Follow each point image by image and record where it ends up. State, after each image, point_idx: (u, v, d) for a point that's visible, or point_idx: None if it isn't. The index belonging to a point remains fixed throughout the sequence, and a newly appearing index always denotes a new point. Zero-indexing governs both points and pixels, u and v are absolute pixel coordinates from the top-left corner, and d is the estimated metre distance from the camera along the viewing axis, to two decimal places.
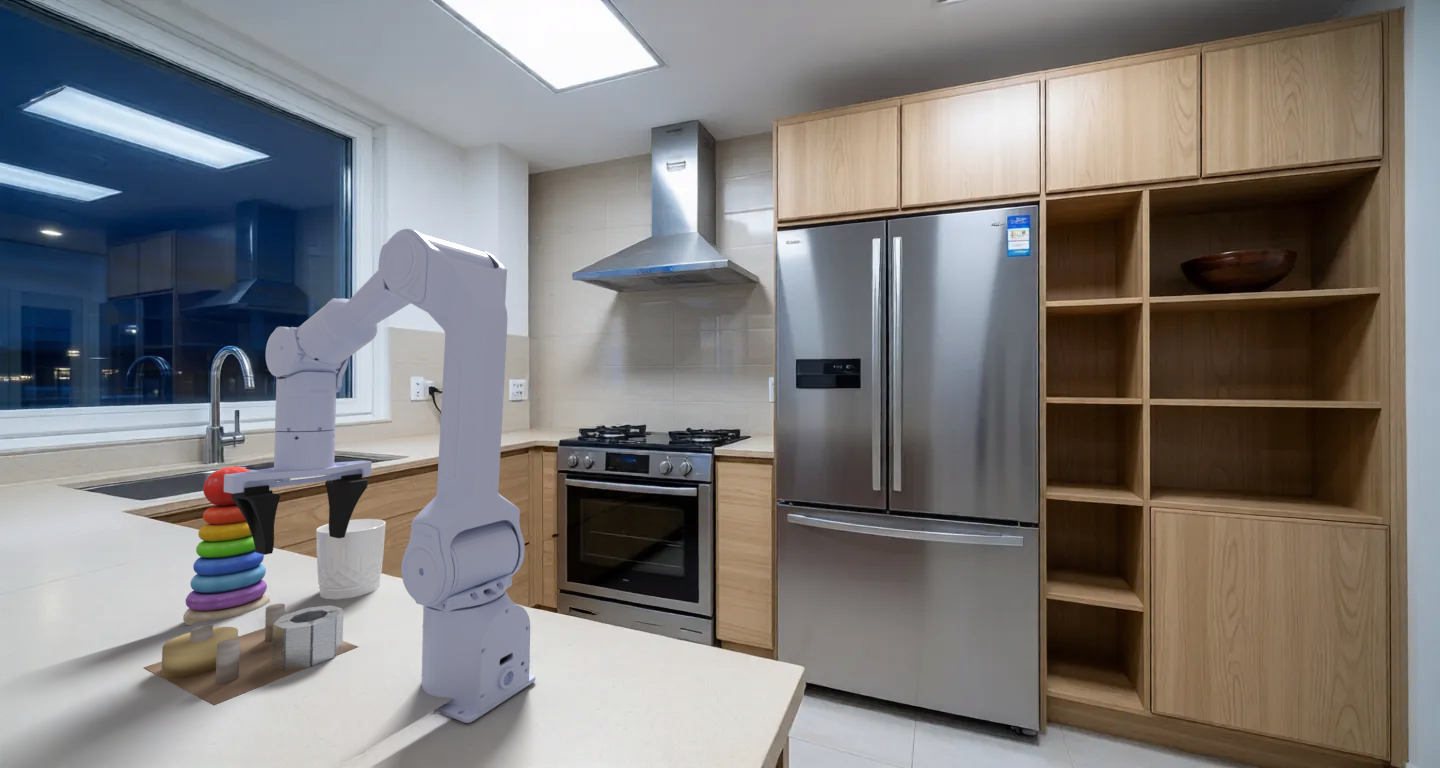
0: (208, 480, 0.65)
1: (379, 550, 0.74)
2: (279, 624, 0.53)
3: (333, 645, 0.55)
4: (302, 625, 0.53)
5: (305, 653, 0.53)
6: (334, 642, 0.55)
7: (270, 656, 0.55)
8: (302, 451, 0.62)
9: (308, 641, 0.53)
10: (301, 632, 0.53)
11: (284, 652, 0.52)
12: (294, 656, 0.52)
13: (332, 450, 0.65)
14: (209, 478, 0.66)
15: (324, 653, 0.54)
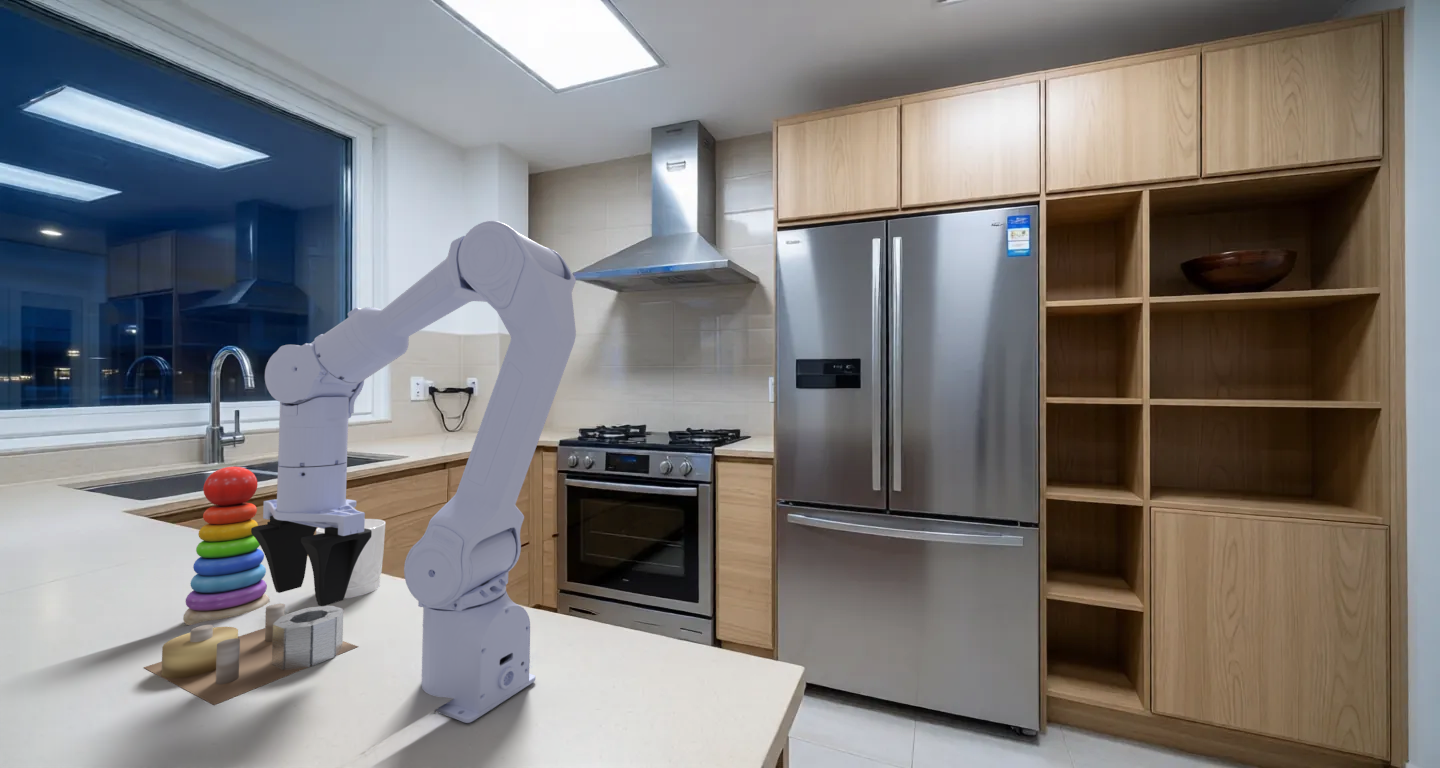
0: (208, 480, 0.65)
1: (379, 550, 0.74)
2: (279, 624, 0.53)
3: (333, 645, 0.55)
4: (302, 625, 0.53)
5: (305, 653, 0.53)
6: (334, 642, 0.55)
7: (270, 656, 0.55)
8: None
9: (308, 641, 0.53)
10: (301, 632, 0.53)
11: (284, 652, 0.52)
12: (294, 656, 0.52)
13: (298, 492, 0.53)
14: (209, 478, 0.66)
15: (324, 653, 0.54)
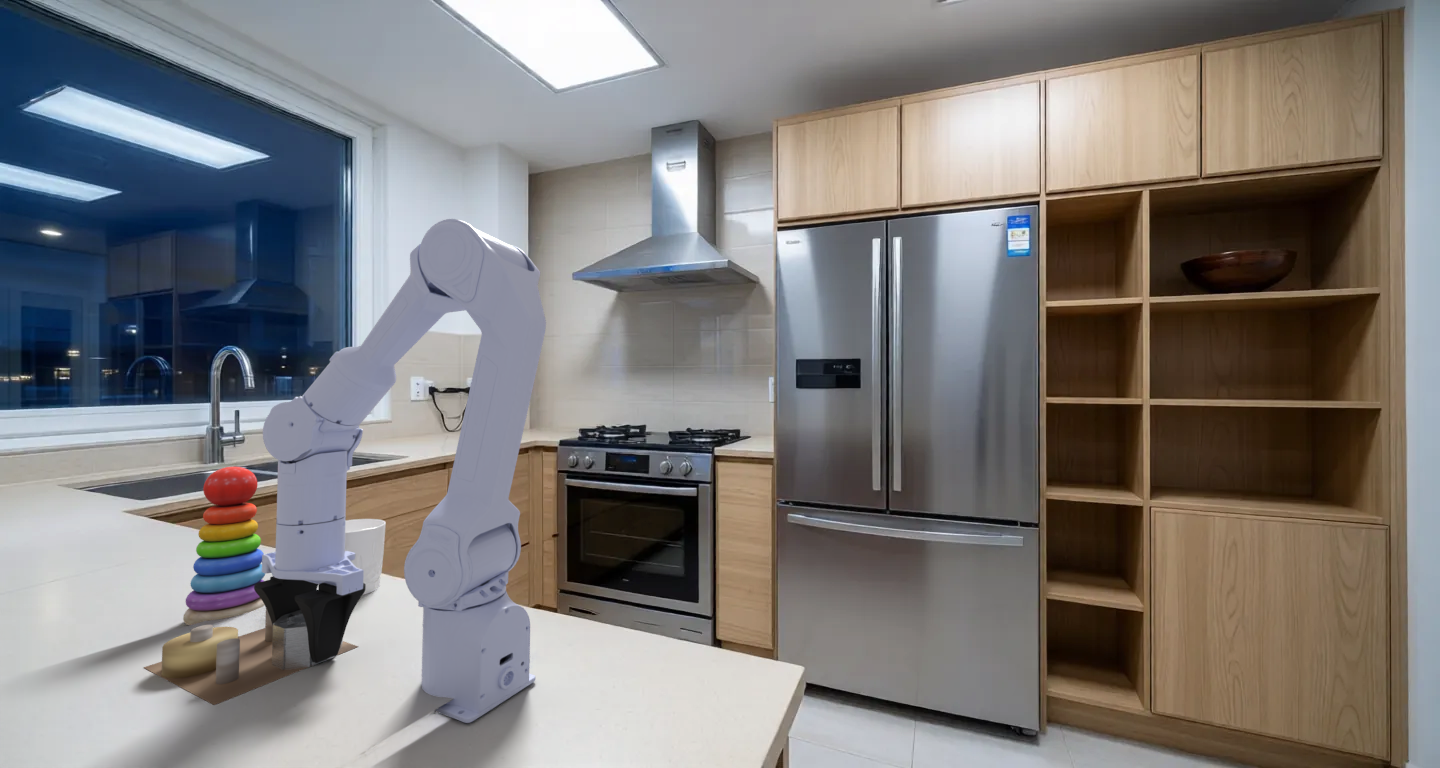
0: (208, 480, 0.65)
1: (379, 550, 0.74)
2: (279, 624, 0.53)
3: None
4: (302, 625, 0.53)
5: (305, 653, 0.53)
6: None
7: (270, 656, 0.55)
8: None
9: None
10: (301, 632, 0.53)
11: (284, 652, 0.52)
12: (294, 656, 0.52)
13: (297, 550, 0.52)
14: (209, 478, 0.66)
15: None
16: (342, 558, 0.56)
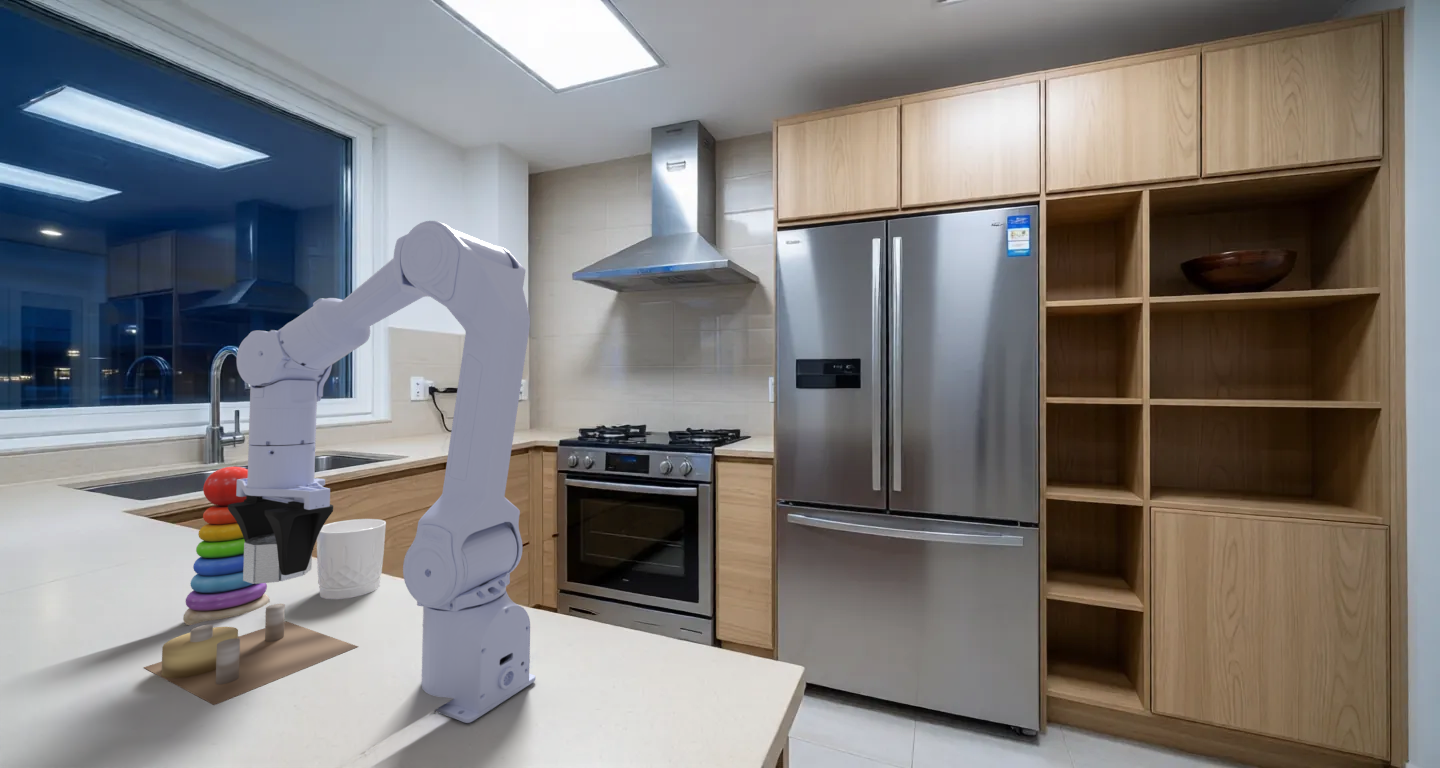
0: (208, 480, 0.65)
1: (379, 550, 0.74)
2: (250, 542, 0.56)
3: None
4: (272, 543, 0.56)
5: (275, 569, 0.56)
6: None
7: (270, 656, 0.55)
8: None
9: (277, 558, 0.56)
10: (270, 549, 0.56)
11: (254, 567, 0.56)
12: (264, 571, 0.56)
13: (267, 469, 0.56)
14: (209, 478, 0.66)
15: None
16: (311, 481, 0.59)
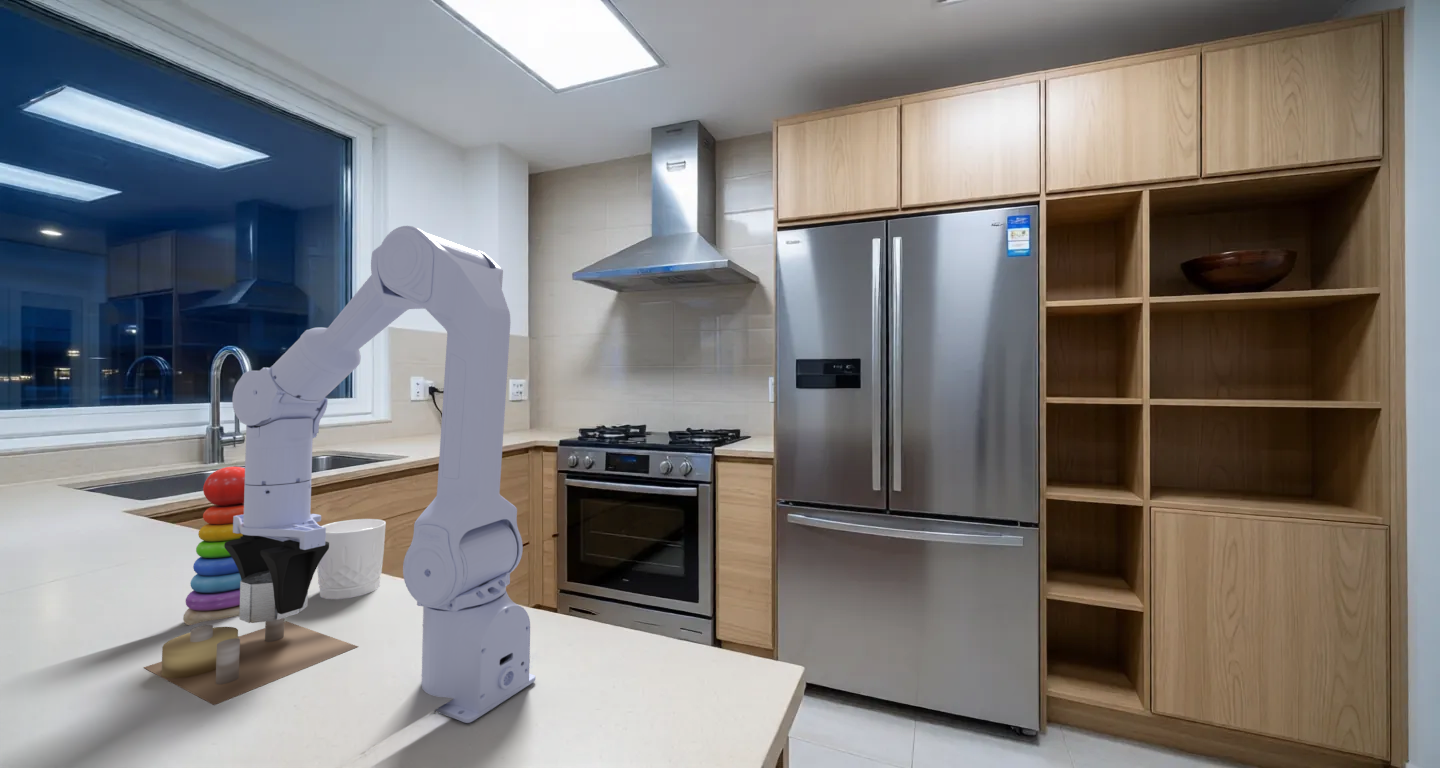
0: (208, 480, 0.65)
1: (379, 550, 0.74)
2: (246, 581, 0.57)
3: None
4: (268, 582, 0.57)
5: (271, 608, 0.56)
6: None
7: (270, 656, 0.55)
8: None
9: (273, 597, 0.57)
10: (266, 588, 0.56)
11: (250, 606, 0.56)
12: (260, 610, 0.56)
13: (263, 508, 0.56)
14: (209, 478, 0.66)
15: None
16: (307, 518, 0.60)
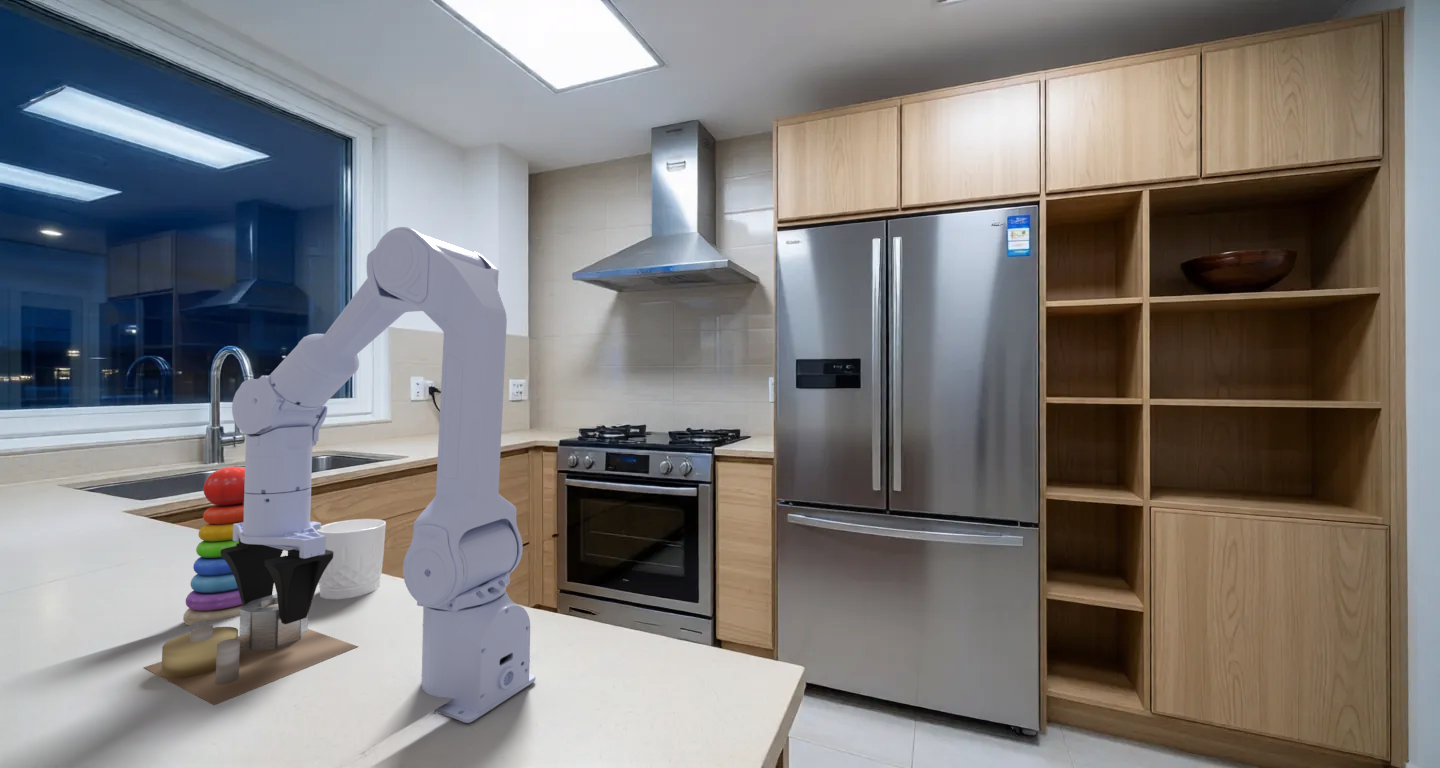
0: (208, 480, 0.65)
1: (379, 550, 0.74)
2: (246, 609, 0.57)
3: (298, 629, 0.58)
4: (268, 610, 0.56)
5: (271, 635, 0.56)
6: (299, 625, 0.58)
7: (270, 656, 0.55)
8: None
9: (273, 624, 0.56)
10: (267, 616, 0.56)
11: (250, 635, 0.56)
12: (260, 638, 0.56)
13: (263, 517, 0.56)
14: (209, 478, 0.66)
15: (289, 636, 0.58)
16: (307, 526, 0.60)
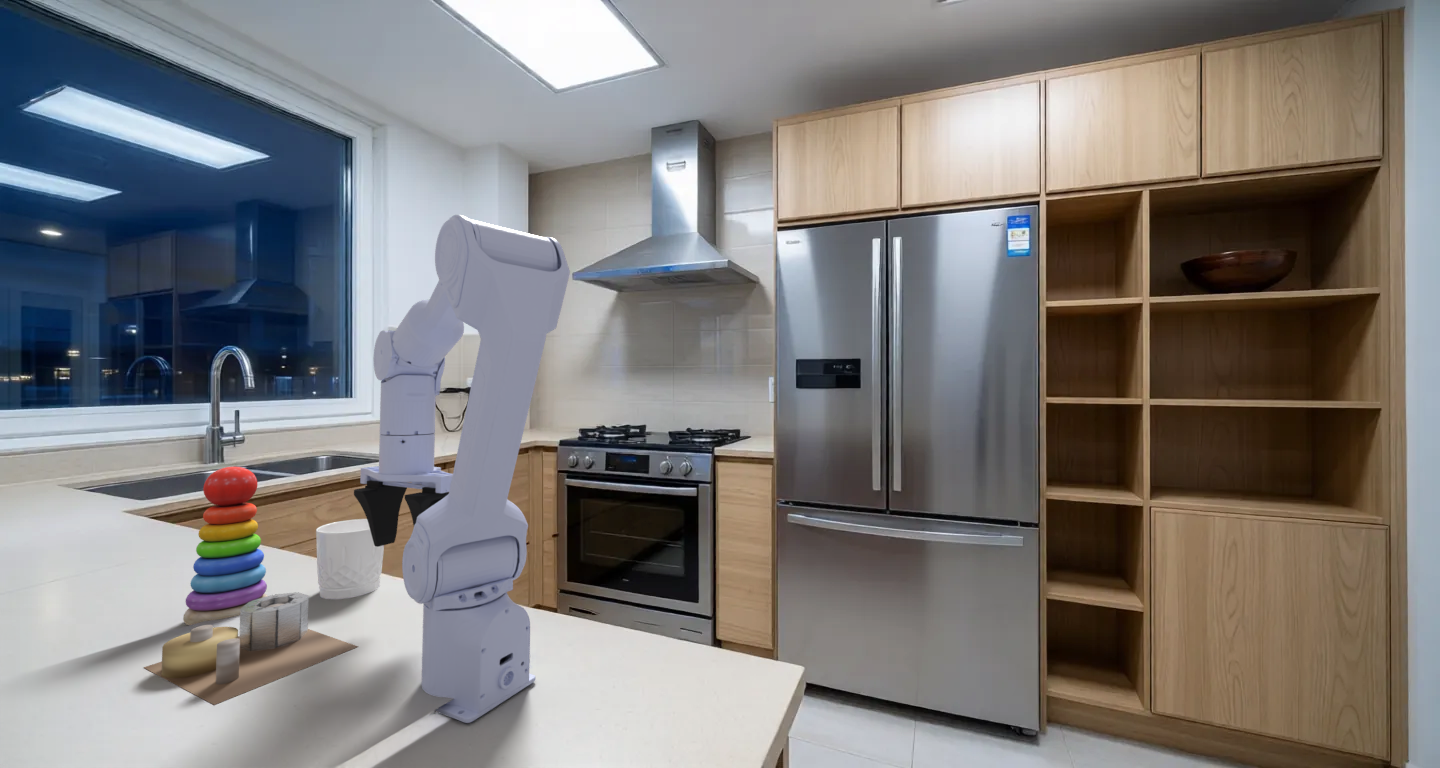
0: (208, 480, 0.65)
1: (379, 550, 0.74)
2: (246, 609, 0.57)
3: (298, 629, 0.58)
4: (268, 610, 0.56)
5: (271, 635, 0.56)
6: (299, 625, 0.58)
7: (270, 656, 0.55)
8: (379, 454, 0.62)
9: (273, 624, 0.56)
10: (267, 616, 0.56)
11: (250, 635, 0.56)
12: (260, 638, 0.56)
13: (399, 457, 0.61)
14: (209, 478, 0.66)
15: (289, 636, 0.58)
16: (433, 469, 0.64)
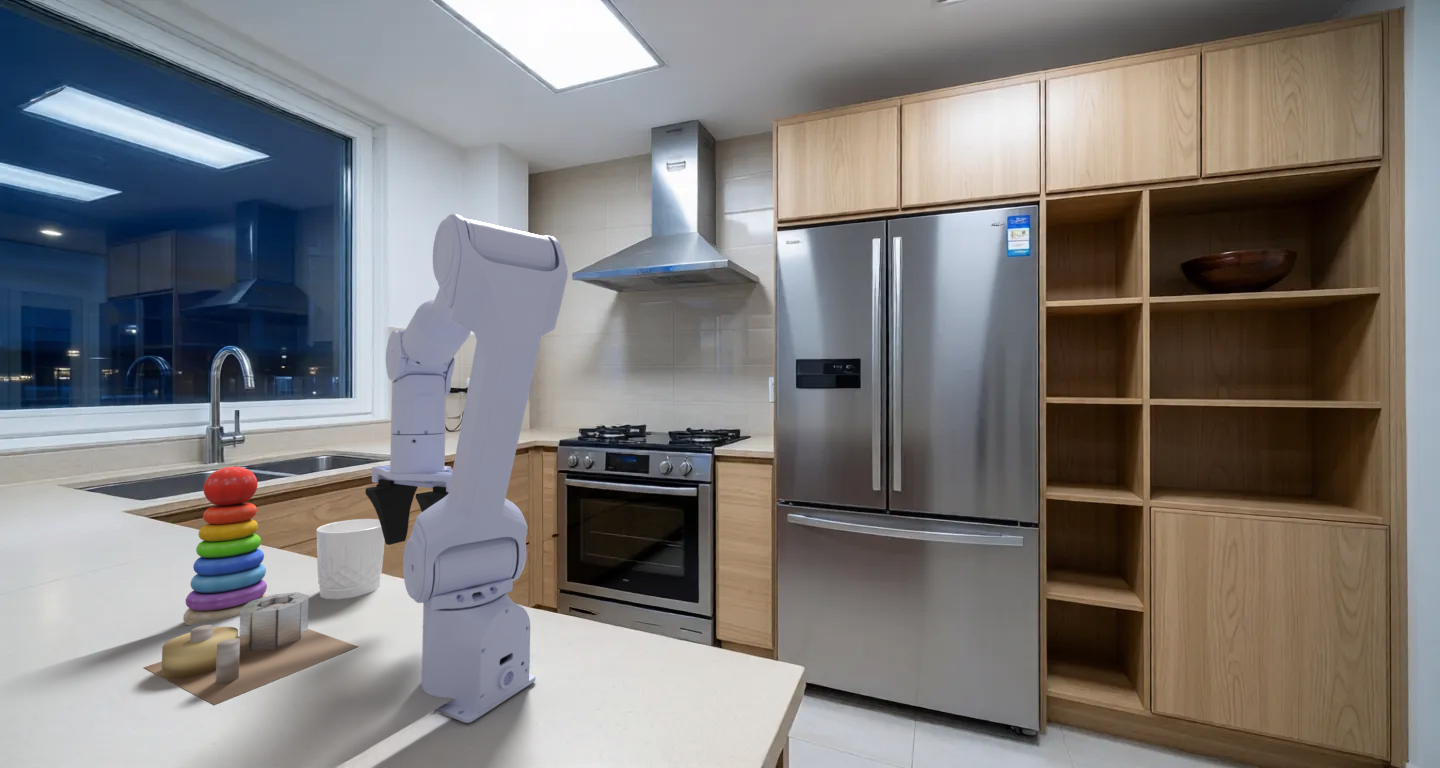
0: (208, 480, 0.65)
1: (379, 550, 0.74)
2: (246, 609, 0.57)
3: (298, 629, 0.58)
4: (268, 610, 0.56)
5: (271, 635, 0.56)
6: (299, 625, 0.58)
7: (270, 656, 0.55)
8: None
9: (273, 624, 0.56)
10: (267, 616, 0.56)
11: (250, 635, 0.56)
12: (260, 638, 0.56)
13: (410, 456, 0.61)
14: (209, 478, 0.66)
15: (289, 636, 0.58)
16: (443, 468, 0.65)
